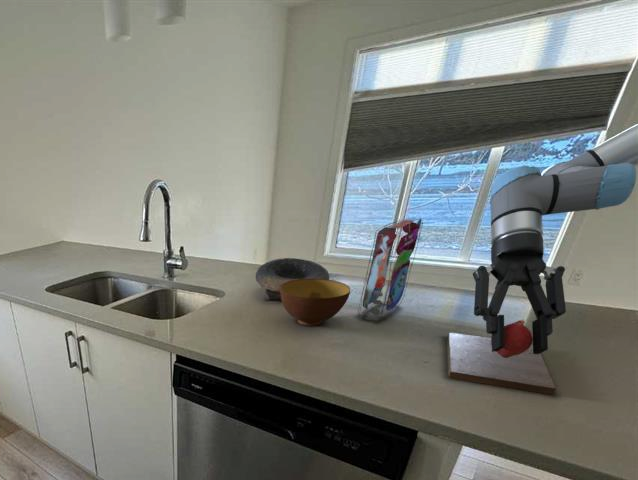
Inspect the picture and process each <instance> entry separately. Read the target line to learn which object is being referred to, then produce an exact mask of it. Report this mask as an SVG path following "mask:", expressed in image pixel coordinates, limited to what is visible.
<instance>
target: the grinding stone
mask: <svg viewBox="0 0 638 480" xmlns="http://www.w3.org/2000/svg"><path fill="white" fill-rule="evenodd" d="M297 279H327V280H330V274H329V271H328V270H327V269H326V268H325V267H324V266H322V265H321V264H320V263H317V262H314V261H311V260H308V259H303V258H297V257H296V258H295V257H283V258H277V259H272V260H270V261H267V262H265V263H263V264H262V265H260V266H259V267H258V269H257V270H256V272H255V280H256V282H257V283H258V284H259V285H260V286H261V287H262V288H263V289H264V290H265V295H266V301H274V300H281V295H280V289H281V285H282V284H284V283H286V282H288V281H292V280H297Z"/></svg>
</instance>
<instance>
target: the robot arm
mask: <svg viewBox="0 0 638 480" xmlns="http://www.w3.org/2000/svg"><path fill="white" fill-rule="evenodd" d="M637 167H638V123H637V124H635V125H633V126H631V127H629V128H627V129H625V130H624V131H622V132H620V133H618V134H616V135H615V136H612V137H611V138H608V139H606V140H605V141H603V142H601V143H600V144H598V145H596V146H593V147H592V148H590V149H589V150H586V151H585V152H583V153H580V154H578V155H576V156H575V157H573V158H571V159H569V160H566V161H561V162H558V163H554V164H552V165H550V166H548V167H547V168H546V169H544V170H542V172H541V170H540V169H539V167H537V166H533V165H532V166H531V165H530V166H529V165H520V166H519V165H518V166H515V167H512V168H510V169H507V170H506V171H504V172H501V174H499V175H498V176H497V177H496V178H495V179H494V180H493V181H492V183H491V185H490V199H489V206H490V246H491V247H490V262H491V264H490V265H488V266H485V265H480V266H478V267H477V268H476V269H475V270H474V272H472V277H473V280H474V282H475V288H474V301H473V302H474V305H473V314H474V316H475V317H482V320H483V321H484V322H485V323H486V324H485V331H486V334H488V335H490V334H491V338H492V351H495V352H497V351H499V350H500V349H502V348H504V347H505V337H504V326H505V314H500V311H501V308H502V306H503V304H504V300H505V298H506V295H507V293H508V290H509V288H510V286H517V287H520V288H521V290H522V291H523V292H525V295H526V297H527V299H528V301H529V304H530V307H531V308H532V310H533V313H534V315H535V318H536V319H535V320H532V322H531V328H532V329H531V330H532V332H531V333H532V339H533V341H532V343H533V354H540V353H541V354H542V353H544V352H546V351H548V350H549V343H548V341H549V340H548V336H550V335H552V333H553V320H556V319H558V318H559V317H561V316H564V314H566V312H567V308H566V299H565V291H564V284H563V276H564V273H565V271H566V267H565V266H563V265H559V266H557V267H552V266H547V264H546V262H545V261H544V253H545V252H544V237H543V235H544V227H543V216H548V215H557V214H565V213H574V212H581V211H582V212H583V211H590V210H595V211H597V210H600V209H605V208H610V207H617V206H620V205H622V204H623V203H625V202H627V200H628V199H629V198H630V197H631V196H632V193H633V191H634V189H635V185H636V182H637ZM541 274H543V280H545V291H544V289H543V287H542V280H541V277H540V275H541ZM491 275H492V276H493V277H494V278H495V279H496V280H497V281H496V284H495V286H494V292H493V294H492V297H491V299H490V301H489V293H490V292H489V289H490V276H491ZM545 292H546V293H545Z"/></svg>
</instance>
